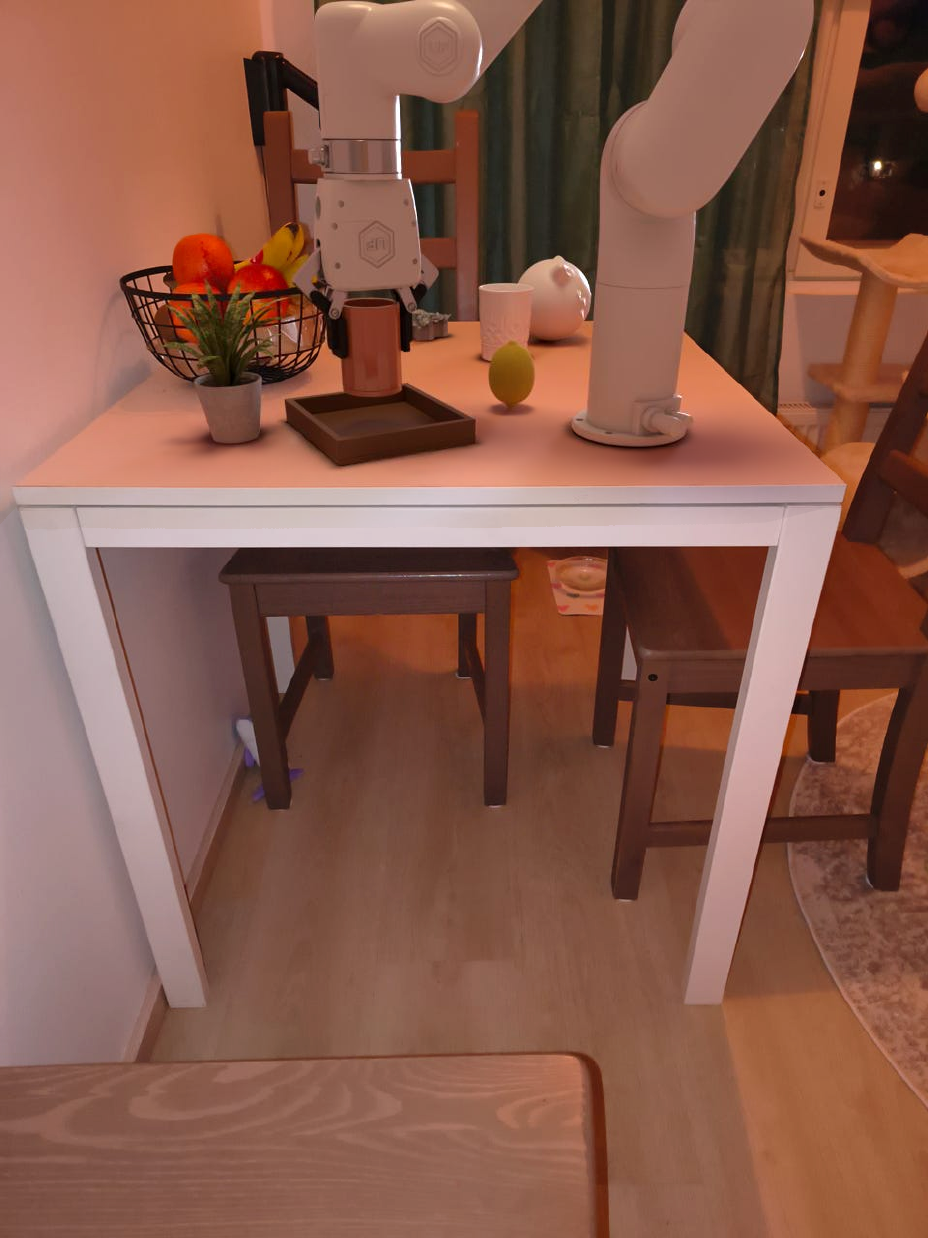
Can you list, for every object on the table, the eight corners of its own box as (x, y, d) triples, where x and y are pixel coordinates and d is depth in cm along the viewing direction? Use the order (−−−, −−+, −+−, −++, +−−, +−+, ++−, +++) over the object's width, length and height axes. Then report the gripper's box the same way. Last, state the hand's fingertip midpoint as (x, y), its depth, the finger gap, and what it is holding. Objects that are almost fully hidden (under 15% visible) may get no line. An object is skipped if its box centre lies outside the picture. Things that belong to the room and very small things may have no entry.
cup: (411, 392, 89) (409, 305, 85) (356, 399, 87) (350, 309, 82) (388, 379, 94) (384, 295, 90) (334, 386, 92) (328, 300, 87)
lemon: (482, 412, 99) (482, 343, 95) (496, 400, 104) (497, 334, 100) (526, 416, 98) (528, 346, 94) (538, 404, 102) (541, 337, 98)
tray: (475, 442, 89) (475, 419, 88) (339, 466, 83) (337, 440, 82) (408, 403, 103) (407, 382, 101) (286, 420, 96) (284, 398, 95)
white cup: (531, 352, 128) (533, 283, 123) (529, 364, 121) (532, 291, 116) (480, 351, 128) (480, 282, 123) (475, 363, 121) (476, 290, 116)
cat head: (508, 330, 143) (510, 253, 137) (584, 331, 142) (590, 253, 136) (507, 349, 130) (509, 264, 124) (591, 349, 129) (597, 265, 123)
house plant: (287, 461, 84) (268, 290, 76) (153, 460, 84) (119, 290, 76) (312, 420, 96) (298, 270, 88) (195, 420, 97) (170, 270, 89)
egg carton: (381, 333, 141) (379, 308, 139) (414, 327, 145) (413, 303, 143) (422, 342, 134) (421, 316, 132) (455, 335, 139) (455, 310, 137)
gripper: (286, 163, 73) (304, 368, 82) (459, 162, 80) (458, 352, 89) (262, 161, 79) (282, 353, 88) (426, 161, 86) (428, 339, 95)
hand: (371, 351), depth 88 cm, fingers closed on cup, 6 cm apart
